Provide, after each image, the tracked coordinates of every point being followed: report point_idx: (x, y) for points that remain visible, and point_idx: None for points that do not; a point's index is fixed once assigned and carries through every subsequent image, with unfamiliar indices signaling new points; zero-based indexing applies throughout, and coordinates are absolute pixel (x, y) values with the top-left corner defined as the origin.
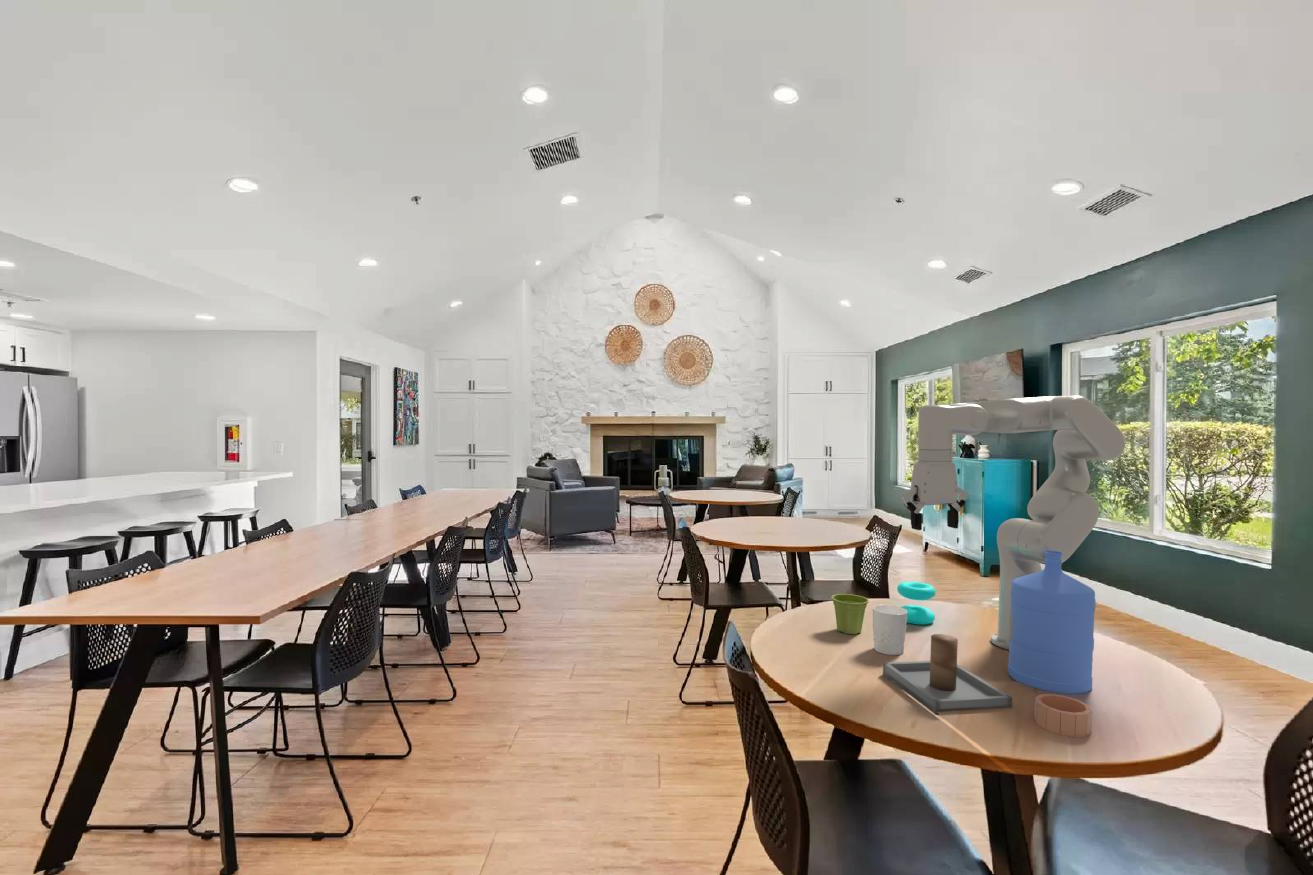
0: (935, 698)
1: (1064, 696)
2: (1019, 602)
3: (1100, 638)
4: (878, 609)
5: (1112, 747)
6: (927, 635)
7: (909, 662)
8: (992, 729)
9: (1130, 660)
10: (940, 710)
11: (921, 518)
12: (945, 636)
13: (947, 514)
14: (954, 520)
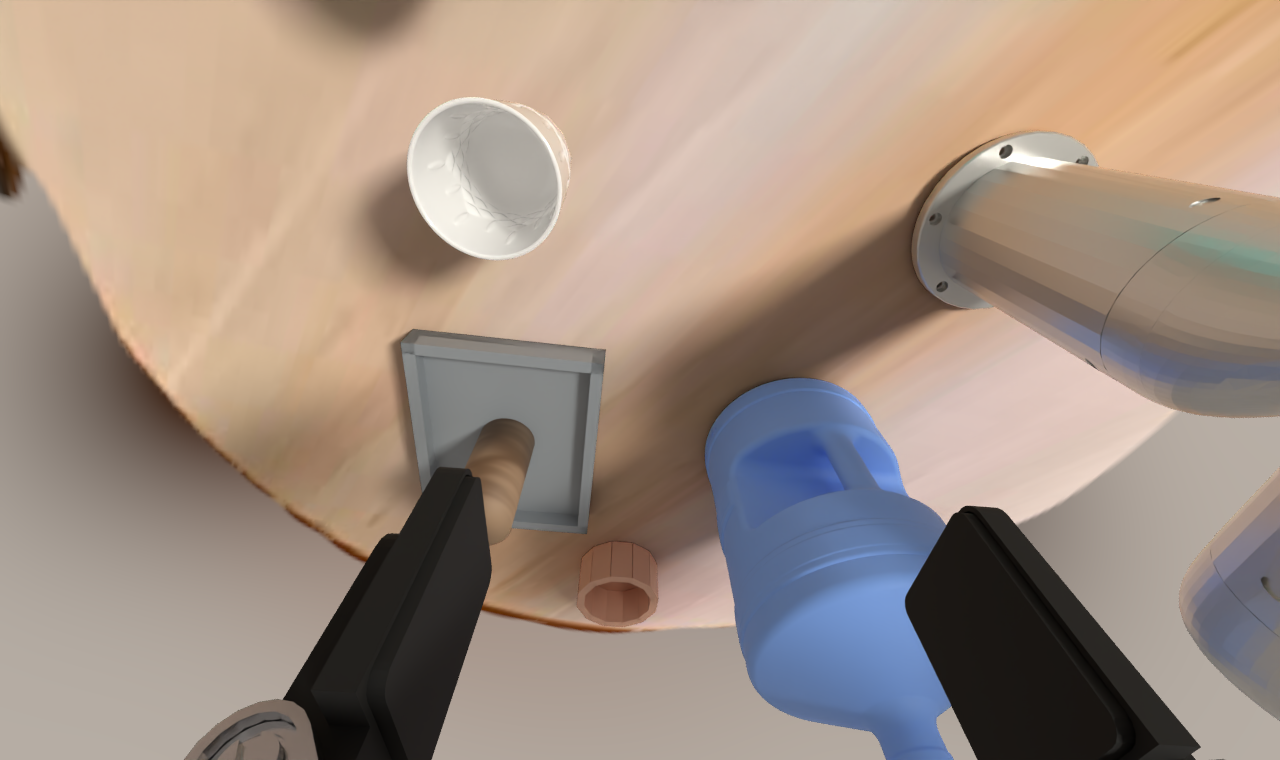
0: None
1: (647, 587)
2: (737, 602)
3: None
4: (464, 106)
5: None
6: (787, 27)
7: (478, 355)
8: (503, 550)
9: (1130, 391)
10: None
11: (440, 714)
12: (488, 515)
13: (1066, 664)
14: (949, 683)
